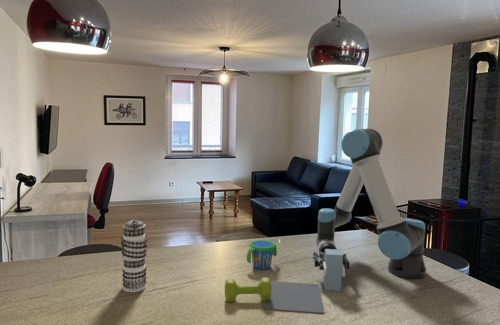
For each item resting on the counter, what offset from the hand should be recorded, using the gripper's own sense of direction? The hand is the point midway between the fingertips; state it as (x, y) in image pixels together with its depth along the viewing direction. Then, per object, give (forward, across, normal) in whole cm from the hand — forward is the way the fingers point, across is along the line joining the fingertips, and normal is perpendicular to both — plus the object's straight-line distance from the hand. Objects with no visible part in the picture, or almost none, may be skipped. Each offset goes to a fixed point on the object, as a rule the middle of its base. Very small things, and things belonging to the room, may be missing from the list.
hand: (334, 272), depth 141 cm
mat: (+5, +15, -8) cm, 18 cm away
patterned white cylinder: (+6, +74, -8) cm, 75 cm away
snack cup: (-21, +28, -8) cm, 36 cm away
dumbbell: (+10, +31, -8) cm, 34 cm away
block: (-5, 0, -8) cm, 9 cm away
